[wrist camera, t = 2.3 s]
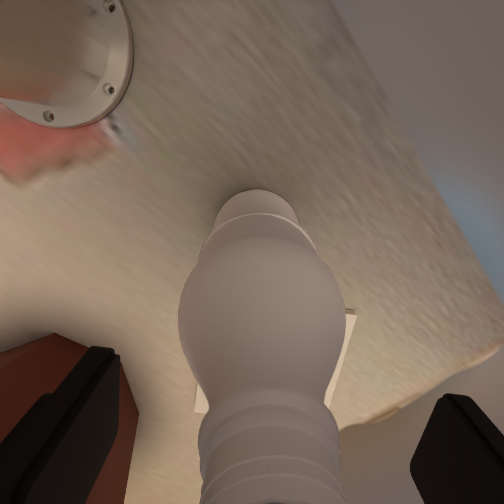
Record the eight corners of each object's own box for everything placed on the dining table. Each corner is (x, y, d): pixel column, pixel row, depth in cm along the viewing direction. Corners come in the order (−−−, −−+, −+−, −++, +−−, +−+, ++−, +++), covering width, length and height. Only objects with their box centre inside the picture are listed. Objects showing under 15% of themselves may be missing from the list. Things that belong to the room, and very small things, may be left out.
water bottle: (258, 273, 31) (282, 688, 7) (202, 227, 29) (3, 564, 6) (310, 220, 29) (555, 542, 6) (252, 168, 28) (261, 310, 4)
